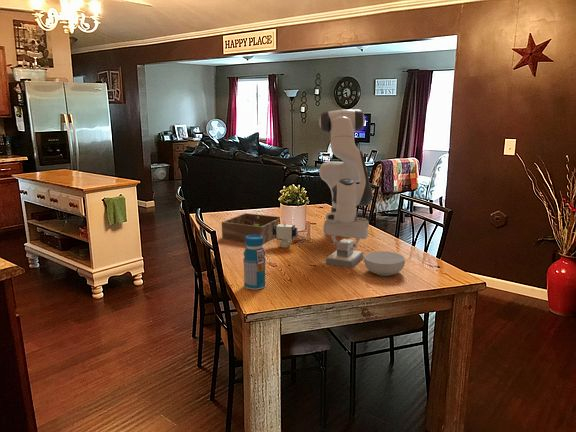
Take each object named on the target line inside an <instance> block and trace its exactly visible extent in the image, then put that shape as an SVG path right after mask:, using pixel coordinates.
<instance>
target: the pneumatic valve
mask: <svg viewBox="0 0 576 432" xmlns="http://www.w3.org/2000/svg"><path fill="white" fill-rule="evenodd" d="M273 235H275V238H274V239H277V240H279V239H280V241H279V242H278V243H279V246H280V247H281V248H283V249H284V248H286V249H287V248H289V247H290V246H291V244H292V243H291V240H294V239H295V237H297V236H298V228H297V227H296V226H295V224H287V223H286V222H283V224H277V225H276V226H275V227H273Z"/></svg>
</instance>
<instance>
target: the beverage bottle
mask: <svg viewBox="0 0 576 432" xmlns="http://www.w3.org/2000/svg"><path fill="white" fill-rule="evenodd" d="M244 244H245V246H246V247H245V249H244V252H243V256H244V258H243V260H242V261H243V278H244V280H243V281H244V282H243V283H244V288H246V289H247V290H251V291H258V290H262V289H263V288H265V287H266V257H265V256H266V251H265V249H264V247H263V245H264V244H263V237H262V236H261V235H248V236H246V237H245V242H244Z"/></svg>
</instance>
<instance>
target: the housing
mask: <svg viewBox="0 0 576 432" xmlns="http://www.w3.org/2000/svg"><path fill="white" fill-rule="evenodd" d="M353 243H354V239H349V238H342V239H341V240H339V241H338V243H337V245H336V250H337V256H340V257H349V256H350V255H351V254H352V253H353V250H354V247H353Z"/></svg>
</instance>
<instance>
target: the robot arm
mask: <svg viewBox="0 0 576 432" xmlns="http://www.w3.org/2000/svg"><path fill="white" fill-rule="evenodd" d="M365 118H366V117H365V113H364V111H362V110H361V109H357V108H355V109H345V108H344V109H337V110H330V111H329V110H327V111H323V112H322V113H321V114H320V117H319V120H318V124H319V128H320V130H321V131H322V132H323V133H325V134H330V149H331V152H332V154H333V155H334V156H335V157H336V158H338V159H339V160H341V161H335V160H333V161H326V162H323V163H322V164H321V165H320V167H319V168H318V169H319V170H318V172H319V174H318V175H319V176H320V179H321V180H322V181H324V182H325V183H326V184H327V186H328V188H329V189H330V192H331V209H330V211H331V212H329V213H327V214H326V215H325V220H324V223H323V228H322V229H323V234H324V235H328V236H330V238H331V240H332V243H333V246H337V243H338V242H339V241H338V240H337V239H336V237H345V238H351V239H355V242H353V249H355V248H357V247H358V243H360V240H367V238H368V237H369V224H370V223H369V220H368V219H367V218H366V217H359V216H357V206H362V207H366V206H368V205H369V204H371V202H372V201H373V199H374V194H373V190H372V186H371V183H370V179H369V174H368V167H367V165H366V162H365V157H364V154H363V151H362V150H360V149H359V148H358V147H357V145H356V143H355V132H359V131H361V130H362V129H364V126H365V122H366V119H365Z"/></svg>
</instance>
